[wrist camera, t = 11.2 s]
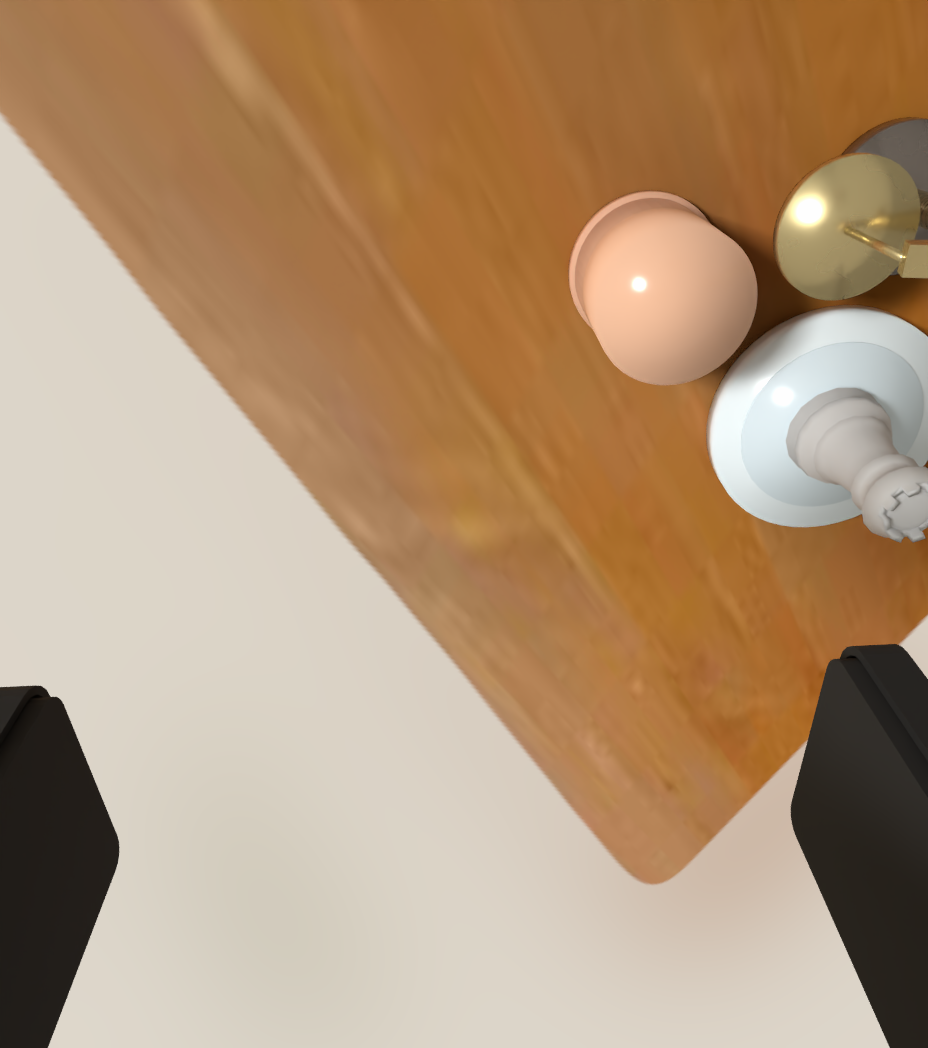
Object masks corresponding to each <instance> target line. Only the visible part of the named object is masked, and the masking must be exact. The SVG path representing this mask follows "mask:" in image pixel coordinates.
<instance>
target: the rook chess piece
mask: <svg viewBox="0 0 928 1048" xmlns="http://www.w3.org/2000/svg"><path fill="white" fill-rule="evenodd" d="M892 437H893V435H892V427H891V420H890V418H889V415H888V414H887V413H886V411H885V410H884V409H883V407H882V406H881V405H880V404H879V403H878V402H877V401H876V400H875V398H874V397H873V396H872V395H871V394H869V393H867V392H865V391H862V390H860V389H858V388H835V389H832V390H829V391H827V392H824V393H821V394H818V395H817V396H815V397H814V398H813V399H811V400H810V401H809V402H807V403H806V404H805V405H803V406H802V407H801V408H800V410H799V411H798V412H797V414H796V415H795V417H794V418H793V420H792V421H791V423H790V425H789V429H788V433H787V437H786V445H787V450H788V455H789V457H790V458H791V459H792V461H793V462H794V463H795V464H796V465H797V466H798V468H801V469H802V470H803V471H804V472H805V474H806V475H807V476H809V477H812V478H814V479H817V480H819V481H821V482H824V483H832V484H835V485H841V486H842V487H844V488H845V489H846V490H848V491H849V492H851V495H852V501H853V502H854V504H855V505H856V506H857V507H858V508H859V509H860V510H862V516H863V522H864V524H865V525H866V526H867V528H868V529H869V530H870V531H871V532H872V533H874V534H877V535H879V536H882V537H889V538H890V539H893V540H895V541H898V542H900V543H901V541H902V539H903V538H904V537H906V536H907V537H908V538H909V539H910V540H911V541H912V542H916V541H919V540H923V539H926V538H925V536H924V533H923V532H922V530H924V529H925V528H927V527H928V468H926V467H919V466H918V464H917V463H916V462H915V460H914V459H912V458H910V457H908V456H905V455H903V454H899V453H898V451H897V450H896V448H895V447H894V445H893V441H892Z"/></svg>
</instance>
